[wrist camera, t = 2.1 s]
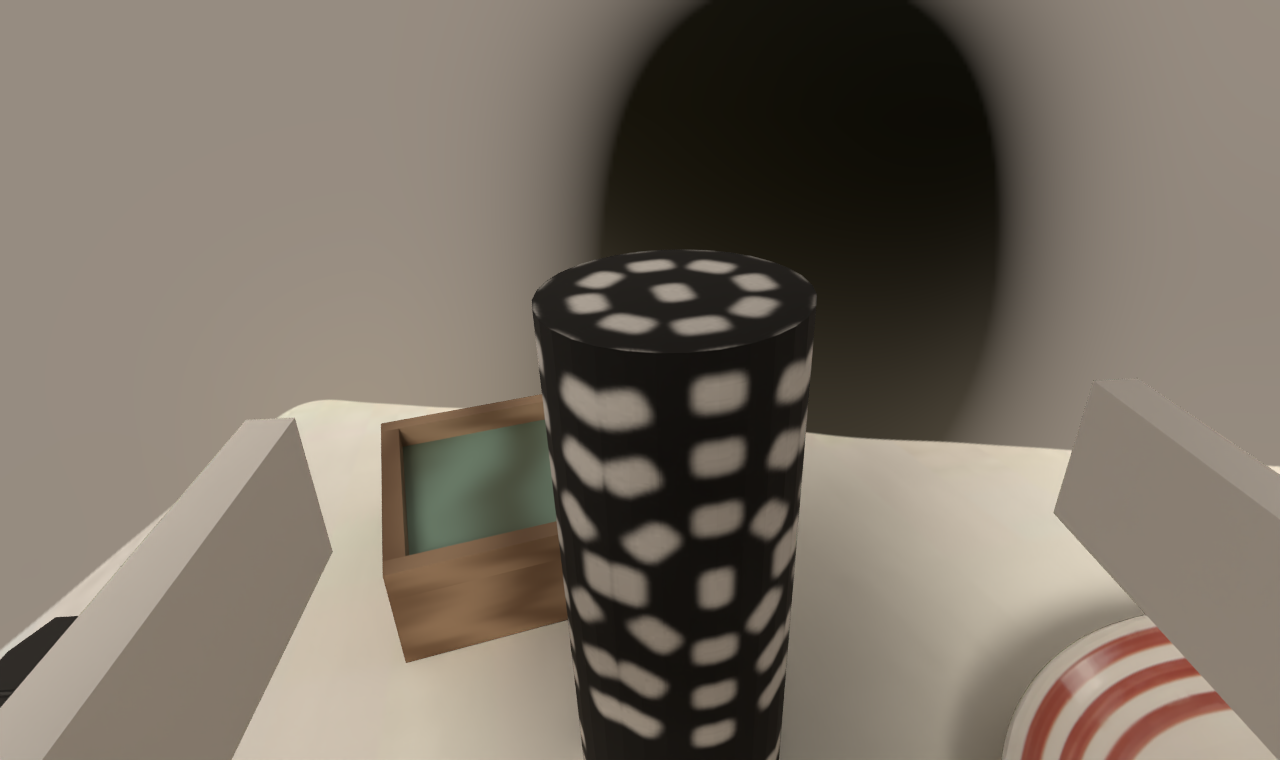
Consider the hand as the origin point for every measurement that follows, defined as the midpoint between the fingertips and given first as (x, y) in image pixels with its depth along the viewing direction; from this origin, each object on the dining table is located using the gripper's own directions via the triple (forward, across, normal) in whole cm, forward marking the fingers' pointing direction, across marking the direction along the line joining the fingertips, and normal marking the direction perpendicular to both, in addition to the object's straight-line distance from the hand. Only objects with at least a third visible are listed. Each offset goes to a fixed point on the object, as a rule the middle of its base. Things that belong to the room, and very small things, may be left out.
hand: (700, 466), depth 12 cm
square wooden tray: (+23, -7, -21) cm, 32 cm away
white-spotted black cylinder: (+10, +1, -21) cm, 23 cm away
